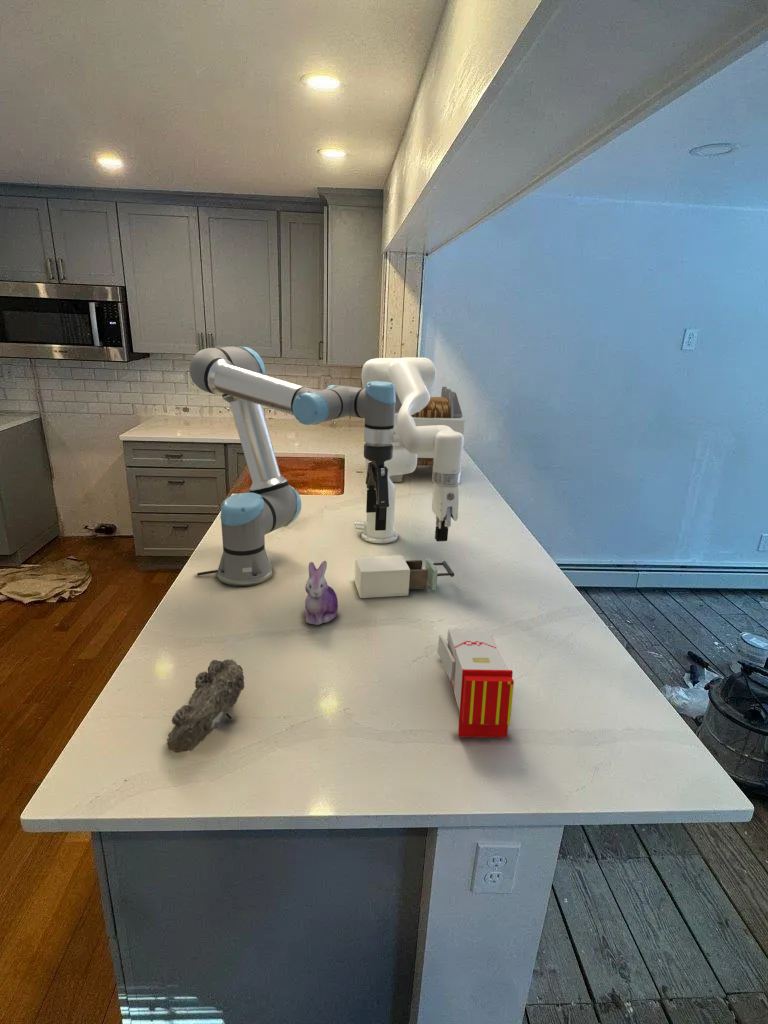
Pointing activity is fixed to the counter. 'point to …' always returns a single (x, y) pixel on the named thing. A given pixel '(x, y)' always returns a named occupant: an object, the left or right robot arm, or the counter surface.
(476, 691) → the toy
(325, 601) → the figurine
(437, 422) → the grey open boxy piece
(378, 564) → the open cream box
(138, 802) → the counter surface
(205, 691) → the fossil
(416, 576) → the drawer
